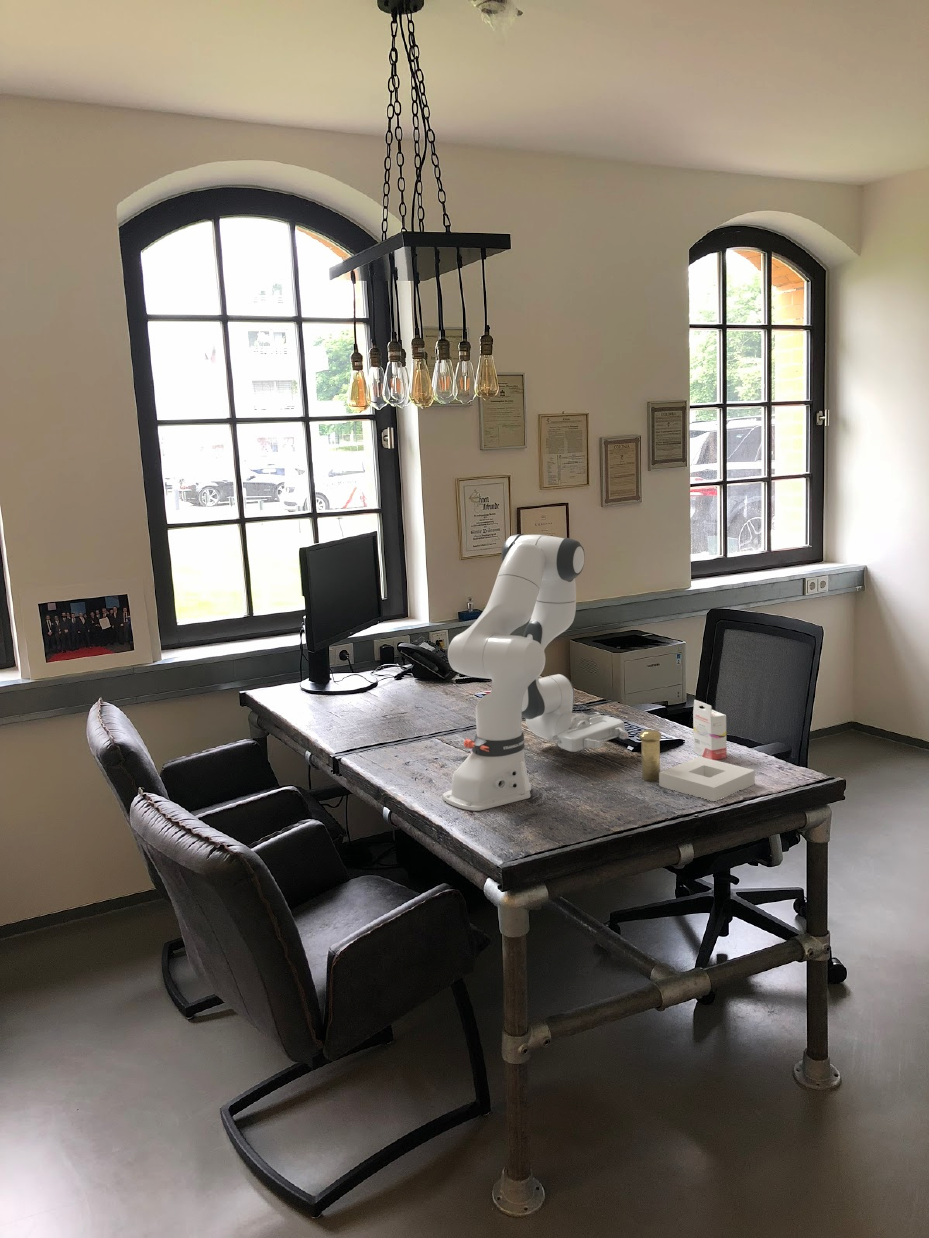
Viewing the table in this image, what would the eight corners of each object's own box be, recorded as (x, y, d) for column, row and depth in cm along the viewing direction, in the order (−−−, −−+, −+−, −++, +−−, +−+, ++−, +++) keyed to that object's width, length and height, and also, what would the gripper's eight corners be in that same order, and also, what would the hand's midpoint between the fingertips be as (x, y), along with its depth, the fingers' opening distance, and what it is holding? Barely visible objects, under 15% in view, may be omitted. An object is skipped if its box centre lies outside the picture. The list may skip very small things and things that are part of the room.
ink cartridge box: (727, 758, 256) (727, 703, 253) (711, 761, 254) (711, 706, 251) (708, 749, 264) (707, 696, 261) (692, 752, 262) (691, 699, 259)
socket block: (714, 802, 226) (714, 787, 225) (659, 786, 238) (659, 772, 237) (754, 784, 236) (754, 770, 235) (700, 769, 248) (699, 756, 247)
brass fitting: (652, 783, 240) (651, 736, 238) (635, 778, 244) (634, 732, 242) (666, 778, 243) (665, 731, 241) (649, 773, 248) (648, 727, 245)
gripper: (546, 727, 255) (585, 738, 245) (600, 710, 268) (639, 719, 258) (547, 751, 257) (586, 762, 246) (601, 732, 269) (640, 742, 259)
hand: (614, 740), depth 252 cm, fingers open, 8 cm apart
